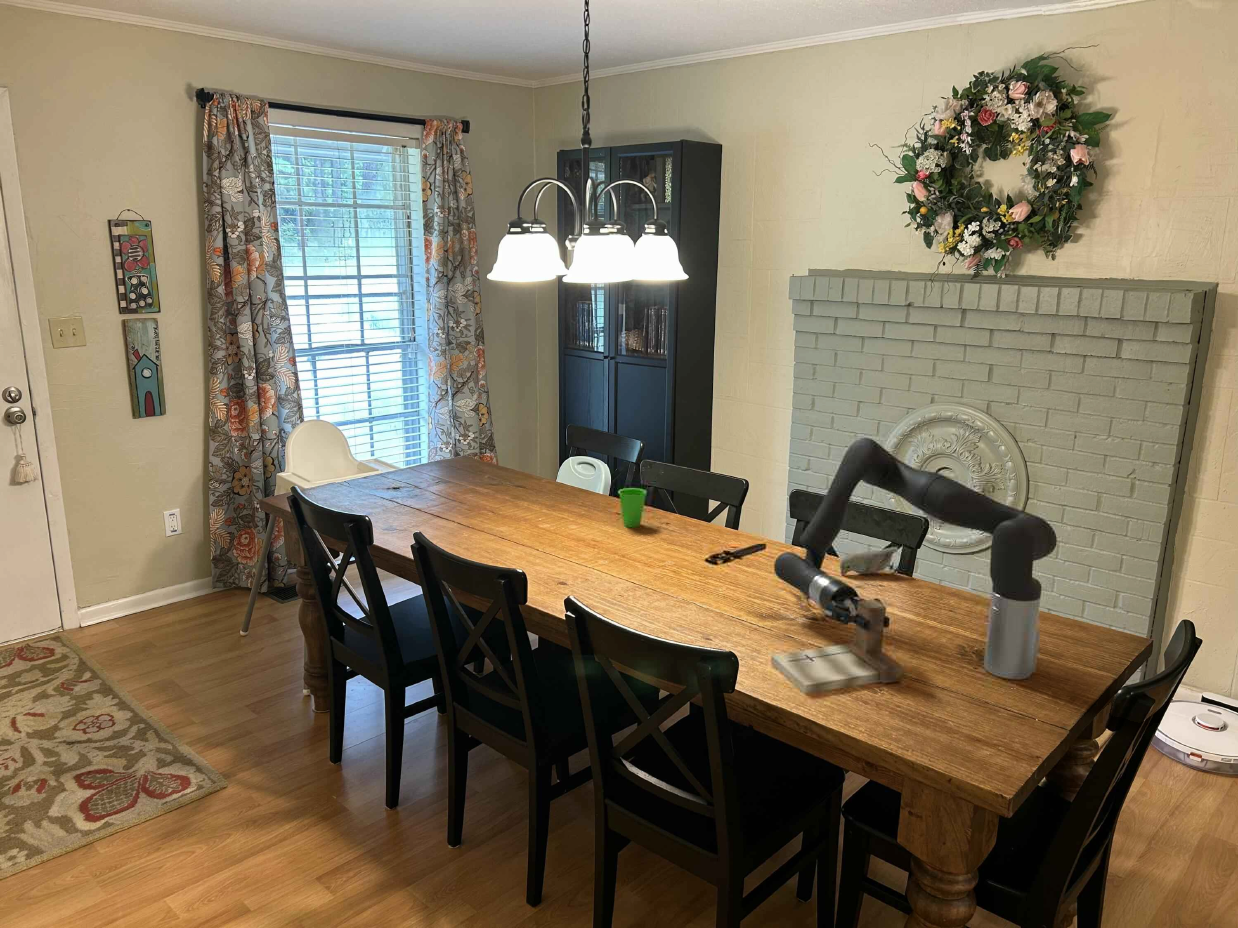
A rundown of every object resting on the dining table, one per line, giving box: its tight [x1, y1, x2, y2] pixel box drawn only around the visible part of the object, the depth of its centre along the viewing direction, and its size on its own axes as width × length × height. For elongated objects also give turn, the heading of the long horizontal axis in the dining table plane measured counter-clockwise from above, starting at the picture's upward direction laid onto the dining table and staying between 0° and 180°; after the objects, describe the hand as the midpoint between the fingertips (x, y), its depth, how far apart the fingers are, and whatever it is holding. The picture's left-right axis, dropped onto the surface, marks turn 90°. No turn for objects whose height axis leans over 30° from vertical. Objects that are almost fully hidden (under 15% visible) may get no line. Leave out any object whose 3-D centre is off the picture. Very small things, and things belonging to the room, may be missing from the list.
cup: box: [617, 487, 648, 528], centre depth 287 cm, size 9×9×11 cm
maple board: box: [770, 642, 881, 695], centre depth 190 cm, size 22×14×2 cm, turn 109°
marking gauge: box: [851, 598, 903, 684], centre depth 189 cm, size 4×12×13 cm, turn 19°
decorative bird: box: [839, 546, 899, 576], centre depth 246 cm, size 5×16×8 cm, turn 99°
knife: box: [704, 542, 767, 566], centre depth 262 cm, size 25×6×1 cm, turn 127°
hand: (878, 624), depth 188 cm, fingers closed on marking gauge, 4 cm apart
